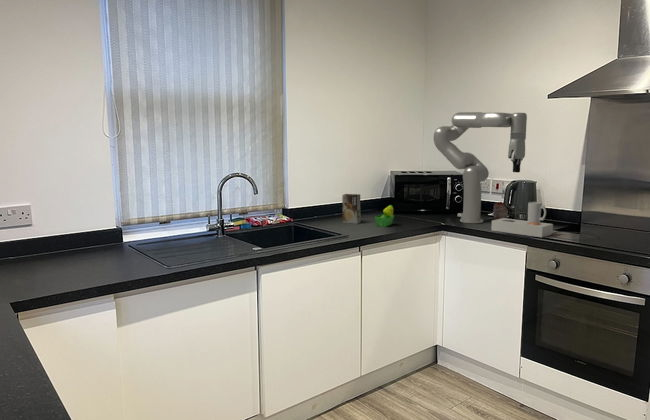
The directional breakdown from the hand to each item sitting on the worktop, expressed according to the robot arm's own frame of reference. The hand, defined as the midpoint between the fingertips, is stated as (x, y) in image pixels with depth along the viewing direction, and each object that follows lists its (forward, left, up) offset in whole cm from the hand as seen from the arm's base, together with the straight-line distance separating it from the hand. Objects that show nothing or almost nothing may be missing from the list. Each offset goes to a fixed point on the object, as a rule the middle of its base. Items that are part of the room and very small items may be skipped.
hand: (516, 172), depth 259 cm
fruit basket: (-51, -45, -29) cm, 74 cm away
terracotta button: (+17, -12, -28) cm, 35 cm away
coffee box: (-70, -52, -29) cm, 92 cm away
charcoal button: (+3, -12, -29) cm, 32 cm away
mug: (+6, +14, -29) cm, 33 cm away
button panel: (+10, -12, -29) cm, 33 cm away
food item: (-19, +20, -29) cm, 40 cm away
